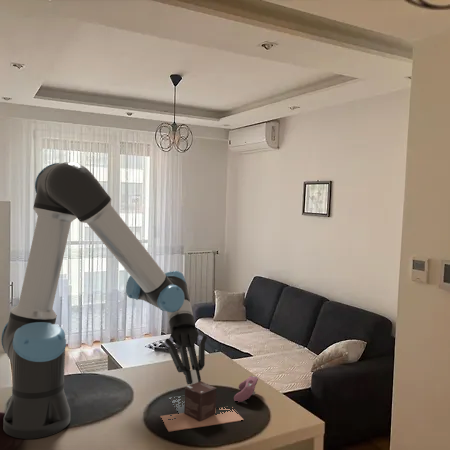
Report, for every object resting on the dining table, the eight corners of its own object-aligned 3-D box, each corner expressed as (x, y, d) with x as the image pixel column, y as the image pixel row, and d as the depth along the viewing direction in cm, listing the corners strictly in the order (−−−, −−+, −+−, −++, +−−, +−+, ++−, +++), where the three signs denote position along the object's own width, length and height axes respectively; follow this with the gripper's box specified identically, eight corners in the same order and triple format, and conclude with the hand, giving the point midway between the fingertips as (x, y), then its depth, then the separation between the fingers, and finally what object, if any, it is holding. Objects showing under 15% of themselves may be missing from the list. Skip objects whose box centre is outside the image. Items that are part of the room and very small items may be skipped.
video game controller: (245, 409, 130) (258, 389, 129) (231, 400, 131) (244, 380, 130) (250, 395, 140) (262, 376, 139) (237, 387, 140) (249, 367, 139)
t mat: (151, 400, 129) (151, 399, 129) (218, 392, 137) (218, 391, 137) (168, 431, 112) (168, 430, 112) (243, 420, 120) (243, 419, 120)
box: (216, 415, 122) (217, 387, 121) (199, 422, 117) (200, 394, 117) (199, 407, 126) (201, 380, 126) (183, 414, 122) (184, 386, 121)
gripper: (197, 323, 146) (214, 397, 132) (157, 325, 141) (170, 403, 127) (204, 310, 141) (223, 386, 126) (162, 312, 136) (177, 392, 121)
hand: (196, 394), depth 127 cm, fingers closed
